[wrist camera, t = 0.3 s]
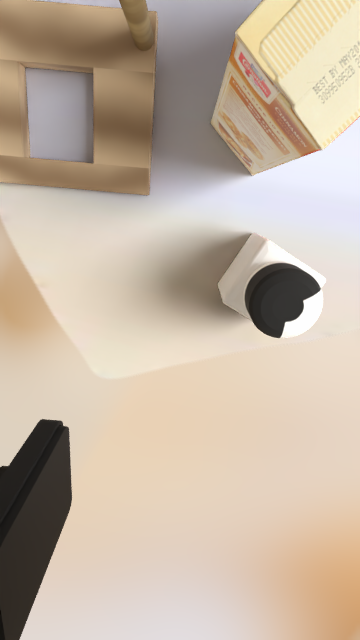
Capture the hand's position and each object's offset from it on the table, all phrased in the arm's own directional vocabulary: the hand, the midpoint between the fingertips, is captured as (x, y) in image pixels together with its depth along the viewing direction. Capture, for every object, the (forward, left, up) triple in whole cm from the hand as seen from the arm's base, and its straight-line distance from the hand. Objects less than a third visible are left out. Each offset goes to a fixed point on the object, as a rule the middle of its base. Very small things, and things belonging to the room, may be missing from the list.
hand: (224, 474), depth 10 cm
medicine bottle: (0, +7, -31) cm, 31 cm away
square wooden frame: (-15, -15, -31) cm, 37 cm away
